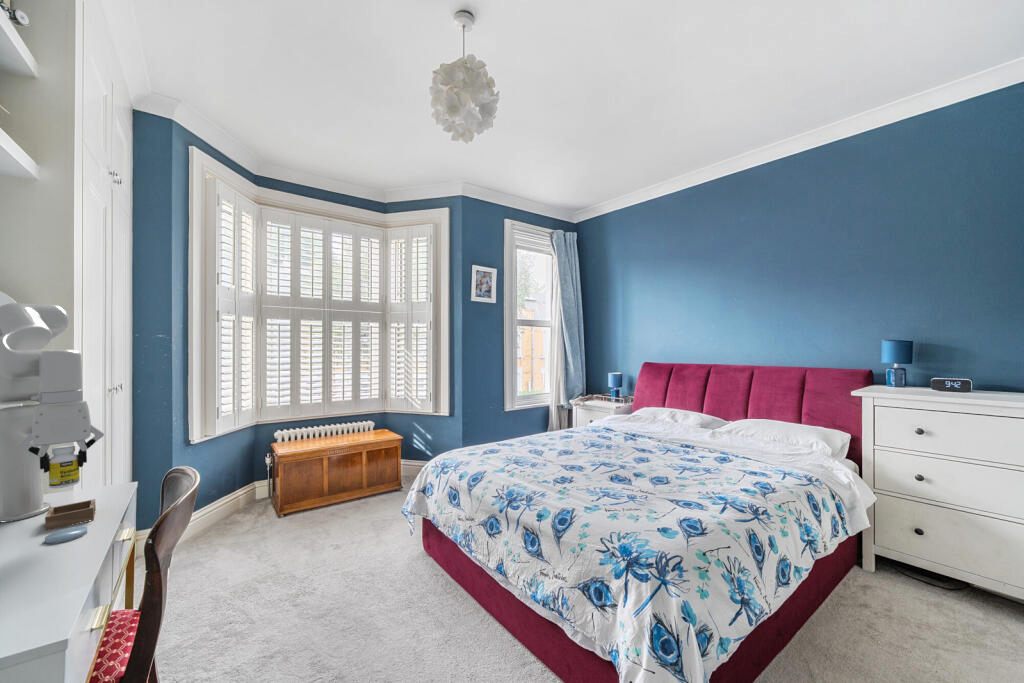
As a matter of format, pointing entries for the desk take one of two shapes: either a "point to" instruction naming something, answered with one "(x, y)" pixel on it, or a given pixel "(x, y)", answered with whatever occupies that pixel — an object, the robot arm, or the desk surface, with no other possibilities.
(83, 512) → the walnut holder
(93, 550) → the desk surface
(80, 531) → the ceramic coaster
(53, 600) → the desk surface
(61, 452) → the supplement bottle
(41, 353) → the robot arm
